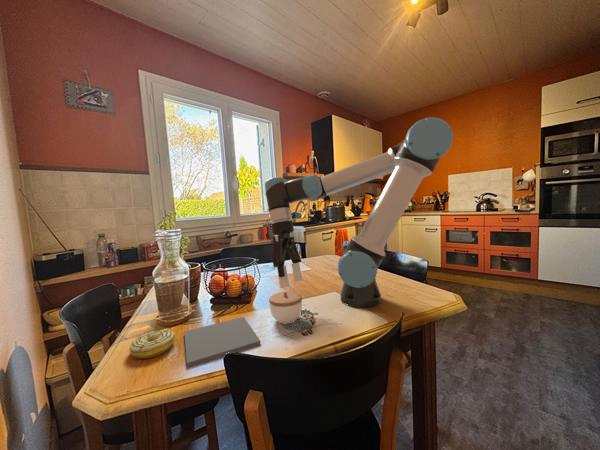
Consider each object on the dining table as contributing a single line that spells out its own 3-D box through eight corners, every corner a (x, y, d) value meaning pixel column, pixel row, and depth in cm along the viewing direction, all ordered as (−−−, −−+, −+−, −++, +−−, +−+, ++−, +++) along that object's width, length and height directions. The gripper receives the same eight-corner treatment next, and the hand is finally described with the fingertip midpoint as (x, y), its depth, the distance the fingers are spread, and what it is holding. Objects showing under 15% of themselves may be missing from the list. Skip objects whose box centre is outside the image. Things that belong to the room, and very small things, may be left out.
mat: (243, 319, 81) (243, 316, 81) (260, 344, 65) (260, 340, 65) (184, 334, 73) (184, 331, 73) (187, 367, 57) (186, 363, 57)
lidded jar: (299, 328, 73) (297, 298, 72) (265, 327, 75) (263, 297, 74) (305, 313, 83) (304, 286, 83) (276, 312, 85) (274, 286, 85)
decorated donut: (168, 335, 73) (167, 323, 73) (181, 348, 66) (179, 334, 66) (126, 350, 66) (125, 337, 66) (135, 367, 58) (134, 351, 58)
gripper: (284, 227, 97) (293, 280, 94) (254, 221, 73) (266, 292, 70) (302, 223, 94) (312, 277, 92) (277, 215, 71) (290, 288, 68)
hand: (292, 284), depth 81 cm, fingers open, 13 cm apart
